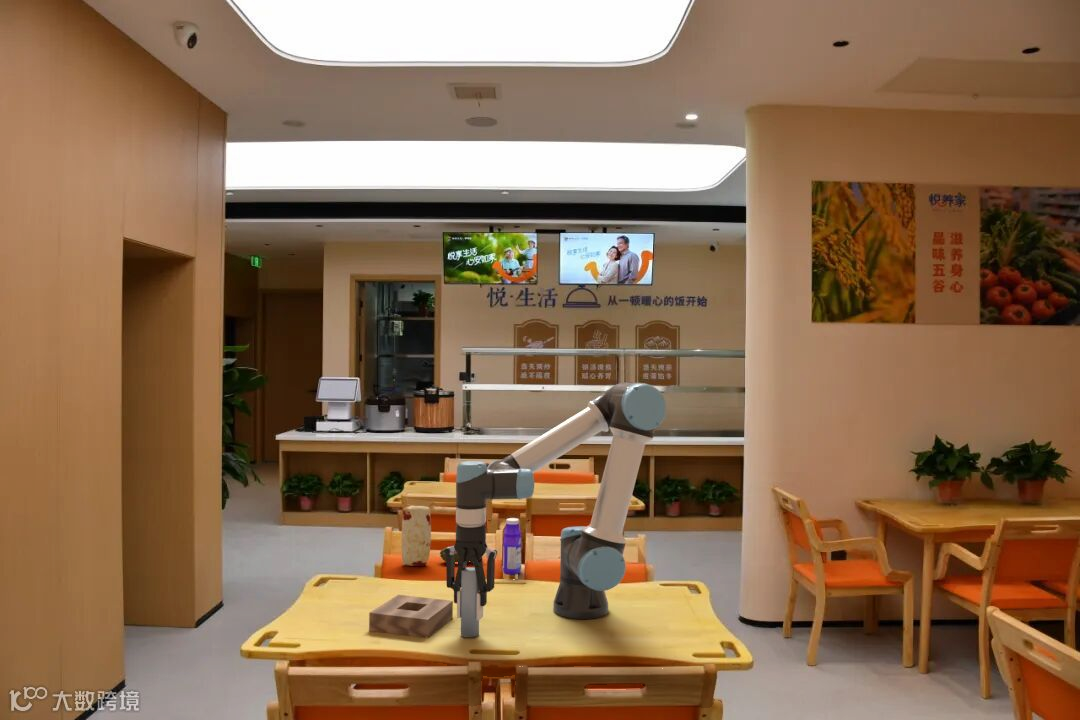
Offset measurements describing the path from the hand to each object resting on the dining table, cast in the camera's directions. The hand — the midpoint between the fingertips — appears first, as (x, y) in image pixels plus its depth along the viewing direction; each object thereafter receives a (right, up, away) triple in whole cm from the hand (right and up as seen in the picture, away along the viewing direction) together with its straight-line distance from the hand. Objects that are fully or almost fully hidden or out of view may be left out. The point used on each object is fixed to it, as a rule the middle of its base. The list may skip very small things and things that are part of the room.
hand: (470, 617), depth 195 cm
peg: (0, -4, 0) cm, 4 cm away
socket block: (-16, -4, +8) cm, 18 cm away
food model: (-24, -4, +65) cm, 70 cm away
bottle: (+8, -5, +58) cm, 59 cm away
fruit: (-9, -5, +69) cm, 70 cm away
